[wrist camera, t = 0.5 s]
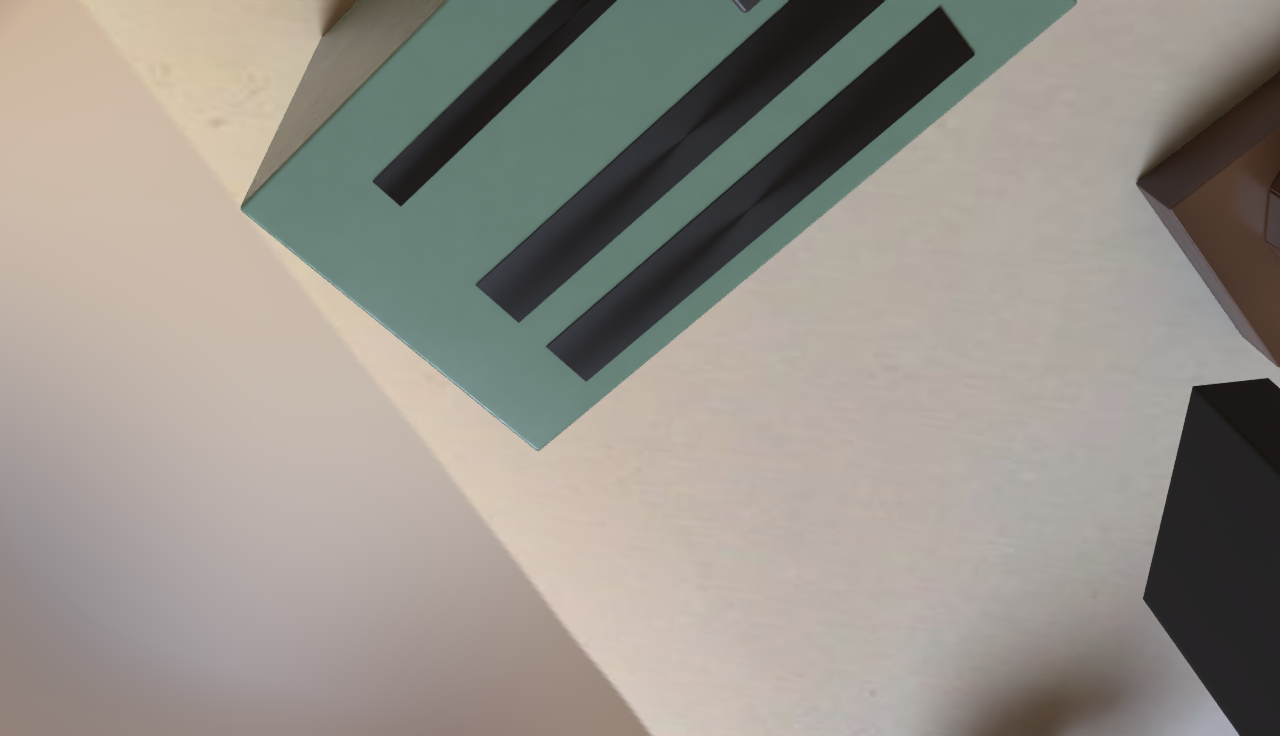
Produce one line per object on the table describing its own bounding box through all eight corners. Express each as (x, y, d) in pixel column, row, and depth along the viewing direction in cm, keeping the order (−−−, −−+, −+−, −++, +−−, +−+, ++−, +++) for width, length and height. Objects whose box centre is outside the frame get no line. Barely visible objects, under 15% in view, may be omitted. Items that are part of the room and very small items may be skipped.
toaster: (702, -359, 28) (825, -383, 18) (888, -101, 32) (1081, 4, 21) (319, 40, 32) (237, 210, 21) (523, 230, 35) (538, 454, 25)
